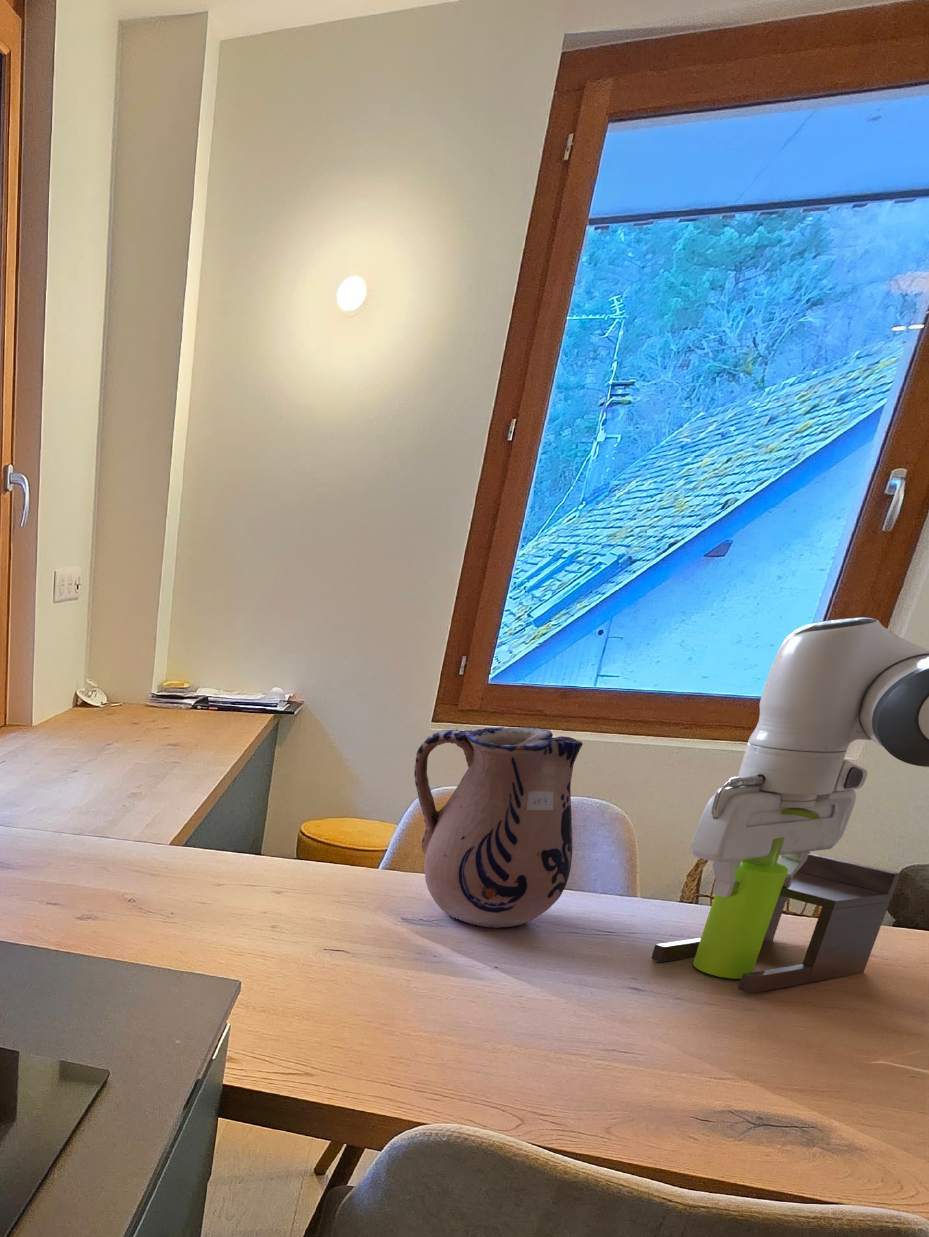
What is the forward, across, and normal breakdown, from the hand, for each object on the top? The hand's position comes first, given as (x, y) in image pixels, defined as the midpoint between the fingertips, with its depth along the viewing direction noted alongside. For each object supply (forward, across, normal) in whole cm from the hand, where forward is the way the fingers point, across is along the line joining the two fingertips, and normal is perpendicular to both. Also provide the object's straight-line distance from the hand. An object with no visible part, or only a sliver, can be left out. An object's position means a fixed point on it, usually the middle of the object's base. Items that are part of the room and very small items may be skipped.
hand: (750, 891), depth 121 cm
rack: (+10, +5, 0) cm, 11 cm away
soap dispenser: (+10, 0, 0) cm, 10 cm away
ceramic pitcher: (+10, -13, +27) cm, 32 cm away
